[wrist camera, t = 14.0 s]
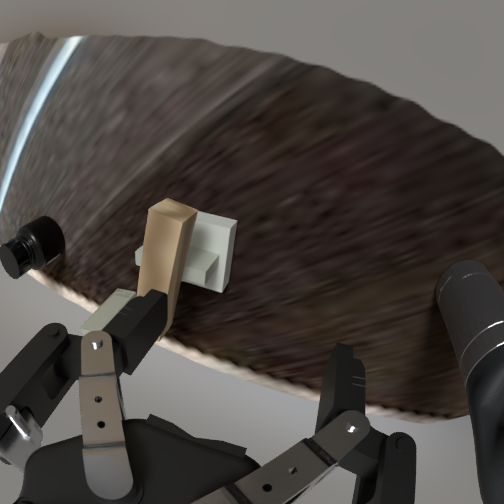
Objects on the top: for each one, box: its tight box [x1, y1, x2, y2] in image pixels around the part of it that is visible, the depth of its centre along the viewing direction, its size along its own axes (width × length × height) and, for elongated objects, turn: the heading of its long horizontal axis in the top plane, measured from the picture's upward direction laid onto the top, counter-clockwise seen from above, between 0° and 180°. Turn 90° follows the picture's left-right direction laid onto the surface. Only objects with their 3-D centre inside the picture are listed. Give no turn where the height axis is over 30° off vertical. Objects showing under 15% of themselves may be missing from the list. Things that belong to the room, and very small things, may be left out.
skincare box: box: [80, 289, 137, 336], centre depth 50 cm, size 6×4×12 cm
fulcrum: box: [135, 202, 237, 293], centre depth 43 cm, size 12×10×8 cm
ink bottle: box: [0, 216, 64, 279], centre depth 49 cm, size 10×9×12 cm
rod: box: [137, 198, 198, 341], centre depth 38 cm, size 4×18×4 cm, turn 162°
